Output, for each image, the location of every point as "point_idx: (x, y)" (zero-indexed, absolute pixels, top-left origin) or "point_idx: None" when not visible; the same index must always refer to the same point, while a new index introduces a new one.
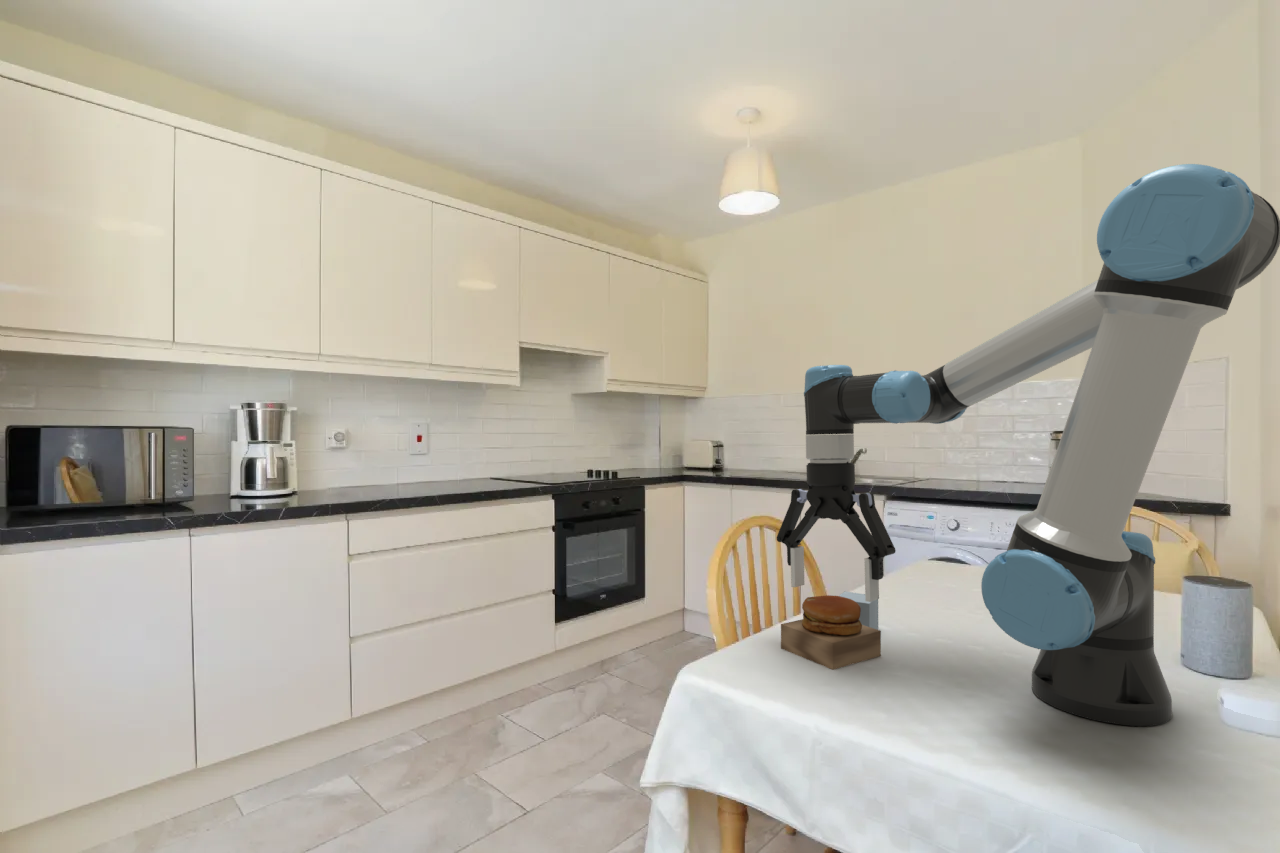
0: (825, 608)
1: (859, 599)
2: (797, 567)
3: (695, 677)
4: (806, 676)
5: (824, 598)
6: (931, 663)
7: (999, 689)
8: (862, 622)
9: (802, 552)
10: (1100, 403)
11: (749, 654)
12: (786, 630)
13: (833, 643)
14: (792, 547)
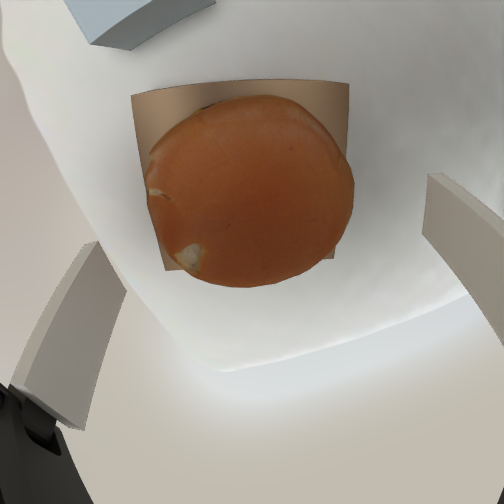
0: (293, 273)
1: None
2: (93, 336)
3: (228, 371)
4: (309, 279)
5: (218, 220)
6: (408, 44)
7: (497, 88)
8: (193, 1)
9: (44, 365)
10: None
11: (181, 297)
12: None
13: (333, 255)
14: (55, 420)
